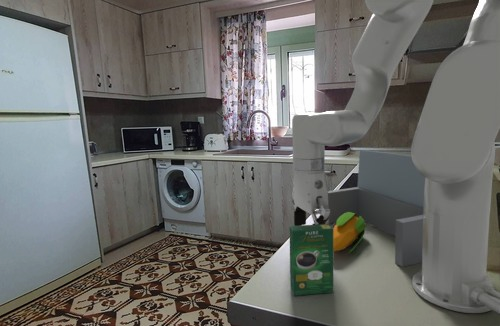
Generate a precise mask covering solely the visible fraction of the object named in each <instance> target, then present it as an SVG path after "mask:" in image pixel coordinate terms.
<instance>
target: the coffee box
mask: <svg viewBox="0 0 500 326" xmlns="http://www.w3.org/2000/svg"><path fill="white" fill-rule="evenodd" d="M333 229H334V227H333V226H332V225H331V224H327V223H326V224H317V225H312V224H305V225H299V226H295V225H289V273H290V274H289V275H290V276H289V278H290V279H289V281H290V290H291V293H292V295H293V297H295V296H305V295H320V294H323V295H324V294H329V293H330V294H331V293H334V251H333V235H334V232H333V231H334V230H333Z"/></svg>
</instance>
